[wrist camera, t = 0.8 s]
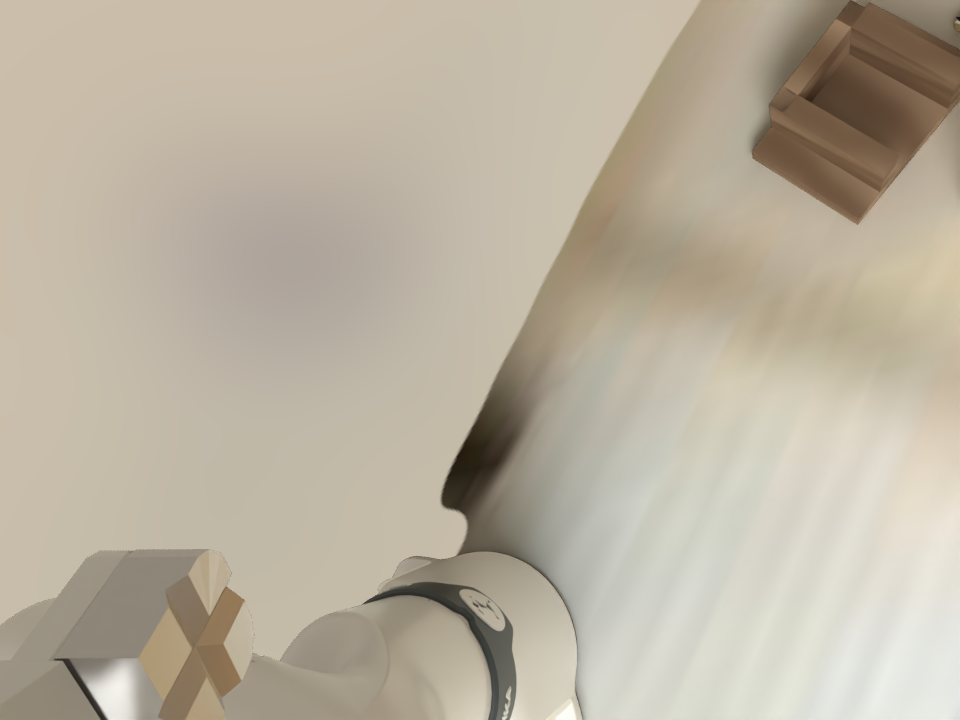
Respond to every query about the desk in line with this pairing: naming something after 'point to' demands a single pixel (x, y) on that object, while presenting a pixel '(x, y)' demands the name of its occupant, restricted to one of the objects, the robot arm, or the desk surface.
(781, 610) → the desk surface
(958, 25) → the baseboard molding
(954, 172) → the desk surface
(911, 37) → the slotted wooden stand
